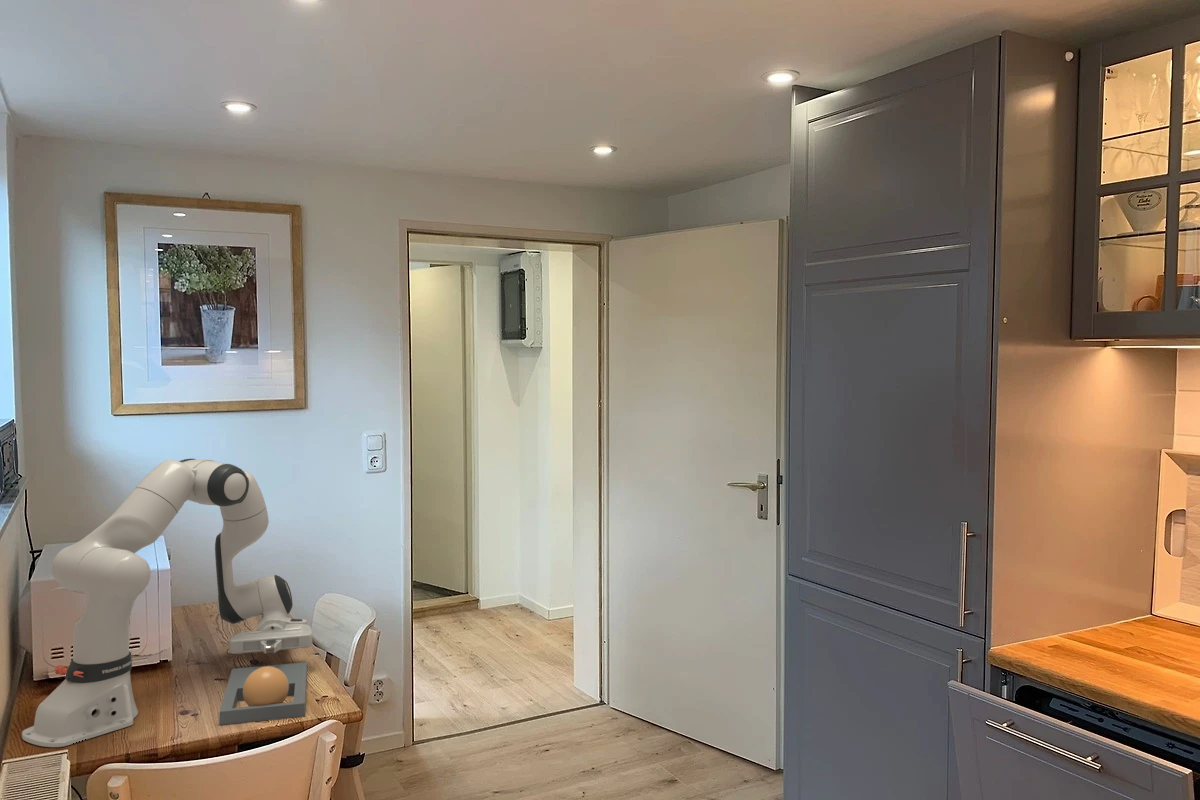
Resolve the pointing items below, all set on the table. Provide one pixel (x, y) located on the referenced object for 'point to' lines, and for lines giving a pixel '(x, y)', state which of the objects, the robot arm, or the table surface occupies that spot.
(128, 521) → the robot arm
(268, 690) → the ball
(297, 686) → the deck
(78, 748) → the table surface
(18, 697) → the table surface
